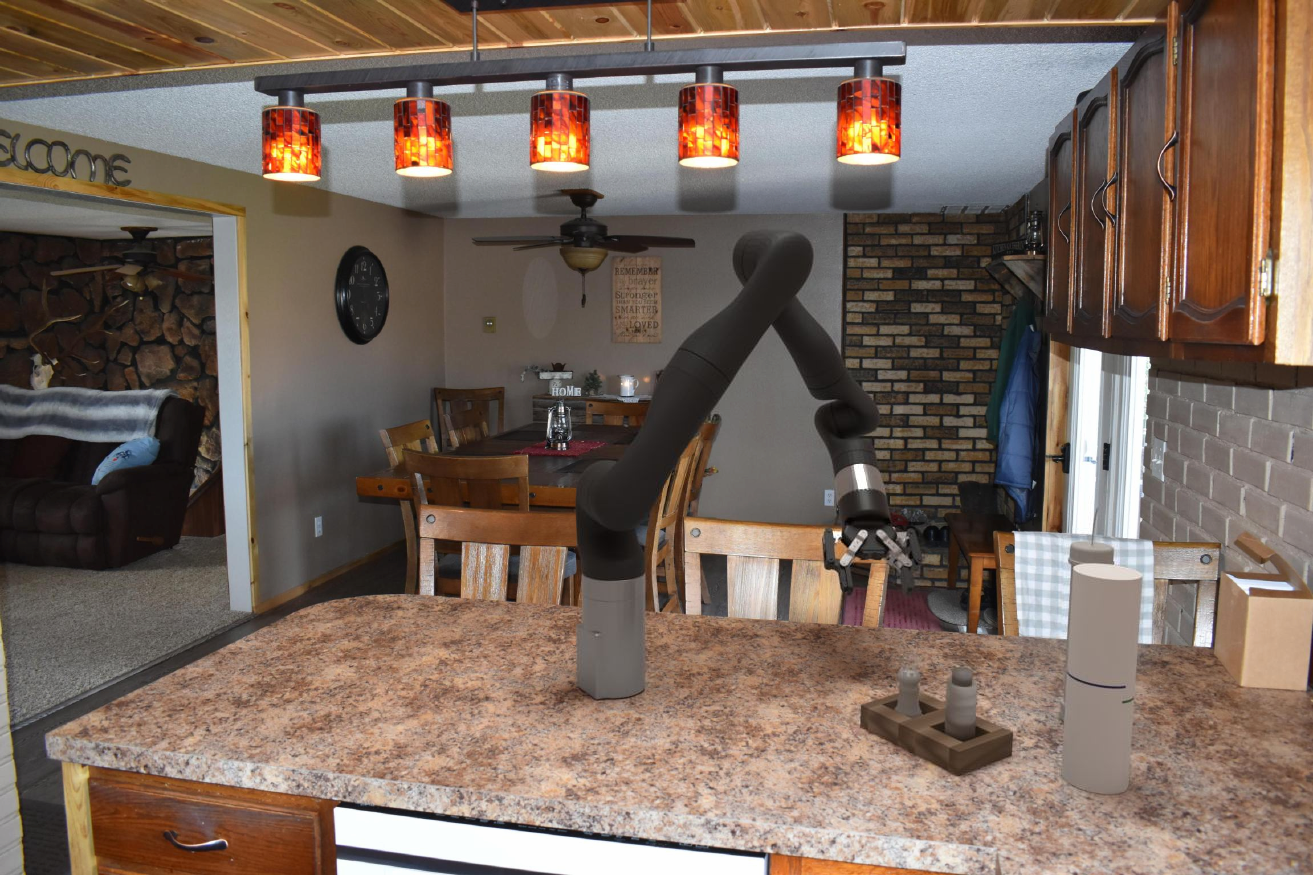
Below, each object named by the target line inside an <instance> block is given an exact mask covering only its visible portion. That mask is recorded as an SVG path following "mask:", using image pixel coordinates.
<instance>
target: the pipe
mask: <svg viewBox="0 0 1313 875" xmlns="http://www.w3.org/2000/svg"><path fill="white" fill-rule="evenodd" d="M1096 507H1097V508H1096V509H1095V512H1094V518H1093V524H1092V531H1091V532H1092V533H1091V540H1089V541H1087V540H1079V541H1078V540H1077V541H1074V542H1071V544H1070V546H1069V556H1068V558H1067V563H1068V565H1069V564H1070V565H1071V566H1070V583H1069V600H1068V616H1067V633H1066V651H1065V665H1064V666H1065V667H1064V680H1063V681H1064V684H1063V696H1062V697H1060V700H1059V706H1060V715H1059V717H1060V719H1061V721H1062V722H1063V723H1064V715H1065V698H1066V681H1067V664H1068V646H1069V629H1070V612H1071V595H1072V578H1073V567H1074V566H1076V565H1079V564H1089V563H1096V564H1110V565H1115V561H1114V556H1115V555H1114V554H1115V547H1113V546H1112V545H1110V544H1108V543H1104V542H1099V541H1094V539H1095V538H1094V536H1095V528H1096V522H1097V521H1096V520H1097V516H1098V511H1099V508H1100V507H1099V506H1096Z"/></svg>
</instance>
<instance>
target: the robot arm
mask: <svg viewBox="0 0 1313 875" xmlns="http://www.w3.org/2000/svg"><path fill="white" fill-rule="evenodd" d="M731 261H732V267H733V271H734V273H735V275H736V277H737V279H738V281H739V282H740V284H741V285H742V286H743V288H742V289H741V291H740V292H739V293H738V294H737V295H736V297H735V298H734V299H733V300H732V301H731V302H730V303H729V304H728V305H727V306H726V307H725V308H723V309H722V310H721V311H720V312H718V313H717V314H716V315H714V316H713V317H711V318H709V319H708V320H707V321H706V322H704V323H703V324H701V325H700V326H699V327H698V328H697V329H695V330H694V331H693V332H692V333H690V334H689V335H688V336H687V338H685V340H683V342H682V343H681V344H680V346H679V347H678V348H677V350H676V351H675V352H674V354H673V356H672V357H671V359H669V361H668V362H667V364H666V366H665V367H664V369H663V370H662V372H661V373H660V376H659V377H658V379H657V382H656V383H655V386H654V389H653V392H652V396H651V397H650V398H651V399H650V403H649V406H648V409H647V412H646V415H645V419H644V421H643V424H642V426H641V428H640V430H639V431H638V434H636V436H635V438H634V439H633V441H632V442H631V443H630V445H629V446H628V447H627V449H626V450H625V452H624V453H623V454H621V457H619V458H618V460H617V461H615V460H610V459H609V460H608V459H607V460H606V459H605V460H597V461H595V462H594V463H592V464H590V465H589V466H587V467H586V468H585V470H584V471H583V472H582V473H581V475H580V477H579V479H578V481H577V485H576V489H575V527H576V544H577V545H576V546H577V551H578V554H579V558H580V563H581V564H580V565H581V622H579V623H577V624H576V628H575V629H576V686H577V687H578V688H579V689H581V690H582V691H584V692H585V693H587V694H588V695H589V696H591V697H592V698H594V699H595V700H601V699H622V698H629V697H632V696H635V695H638V694H639V693H641V692H642V691H643V690H644V689H646V556H645V553H644V551H643V548H642V546H641V544H640V542H639V539H638V535H637V527H638V526H639V525H641V524H642V523H643V522H644V520H646V519H647V517H648V516H649V515H650V513H651V511H652V510H653V508H654V506H655V505H656V503H657V500H659V497H660V496H661V494H662V491H663V489H664V488H665V485H666V484H667V482H668V480H669V478H670V477H671V475H672V473H673V471H674V469H675V468H676V466H677V465H678V464H677V463H678V462H679V460H680V458H681V457H682V455H683V454H684V452H685V451H686V449H687V448H688V447H689V445H690V443H691V442H692V441H693V439H694V438H695V436H696V435H697V434H698V432H699V430H700V429H701V428H702V425H704V423H705V421H707V418H708V417H709V416H710V414H711V413H712V412H713V410H714V409H715V407H716V406H717V405H718V403H719V402H720V400H721V399H722V397H723V396H724V394H725V393H726V391H727V390H728V388H730V386H731V384H732V382H733V381H734V380H735V378H736V376H737V374H738V372H739V371H740V369H741V368H742V366H743V365H744V364H745V362H746V360H748V358H749V356H750V355H751V353H752V352H753V351H754V350H755V348H756V347H757V345H758V344H759V342H761V339H762V338H763V336H764V335H765V334H766V332H767V330H769V328H770V327H771V326H772V328H773V329H774V331H775V332H776V333H777V335H778V337H779V339H780V340H781V341H782V343H783V344H784V346H785V348H786V350H787V351H788V353H789V355H790V357H791V358H792V360H793V362H794V363H795V366H796V368H797V371H798V373H799V375H800V376H801V378H802V380H803V382H804V385H805V387H806V388H807V390H808V392H809V394H810V395H811V397H813V398H814V399H815V400H818V401H830V402H826V403H824V404H822V405H820V406H819V407H818V408H817V409H816V411H815V413H814V417H813V423H814V427H815V429H816V431H817V434H818V435H819V437H820V438H821V440H822V442H823V443H824V445H825V447H826V449H827V451H828V454H829V456H830V460H831V462H832V469H833V475H834V483H835V502H836V504H837V508H838V516H839V521H840V527H841V531H834V529H832V528H831V527H826V528H825V529H824V532H823V535H822V538H821V542H822V543H821V545H822V546H821V547H822V556H823V558H822V559H823V567H824V569H825V570H827V571H831V570H833V571H835V572H836V573H837V574H838V581H839V588H840V591H841V592H842V593H845V596H847V597H849V596H852V594H853V592H854V583H853V578H852V574H851V573H852V572H851V567H850V566H851V565H852V564H853V562H854V560H855V559H856V558H858V559H859V560H860V561H867V560H874V561H882V560H884V561H885V562H886V563H887V564H888V565H889V566H892V567H894V568H895V569H896V570H897V571H898V572H899V576H898V577H899V580H900V584H901V585H900V586H901V590H902V593H903V594H902V595H903V596H904V597H910V596H911V593H913V591H914V589H915V588H916V584H915V578H914V573H913V572H918V571H919V570H920V567H921V566H922V564H923V562H924V557H923V554H922V550H921V547H920V544H919V541H918V537H917V534H916V531H915V529H914V528H911V527H910V528H908V529H907V531H902V532H901V531H899V532H898V531H896V530H895V528H893V524H892V517H891V514H890V509H889V502H888V497H887V493H886V488H885V484H884V482H883V478H882V476H881V472H880V467H879V463H878V458H877V453H876V450H875V447H874V446H873V444H872V443H871V442H870V441H869V440H866V439H862V438H860V437H863V436H866V435H868V434H872V433H873V432H875V431H876V430H877V429H878V428H879V426H880V421H881V414H880V410H879V407H878V405H877V404H876V402H875V401H874V399H873V398H872V396H871V395H869V393H868V392H867V391H866V390H865V389H863V387H862V386H860V384H859V383H858V382H857V381H856V380H855V378H854V377H853V376H852V374H851V373H850V372H849V370H848V367H847V366H846V364H845V362H844V359H843V357H842V355H841V353H840V351H839V349H838V346H837V345H836V343H835V341H834V340H833V339H832V337H831V336H830V334H829V333H828V332H827V331H826V329H825V328H824V327H823V326H822V325H821V324H820V323H819V322H818V321H817V320H816V319H815V318H814V316H812V314H811V313H810V312H809V311H808V309H806V308H805V307H804V305H803V303H801V301H800V300H799V298H798V297H797V294H798V293H800V291H801V289H802V288H803V286H804V285H805V284H806V282H807V280H808V278H809V276H810V274H811V272H812V269H813V265H814V248H813V246H812V242H811V241H810V240H809V239H808V238H807V237H806V236H805V235H804V234H802V233H799V232H797V231H793V230H788V229H787V230H786V229H768V228H767V229H765V228H763V229H761V228H760V229H754V230H750V231H747V232H746V233H744V234H742V235H741V236H740V238H739V239H738V240H737V241H736V243H735V244H734V247H733V250H732V259H731ZM839 541H840V542H841V543H842V544H843V546H845V547H846V549H847V550H846V551H845V553H844V554H843V555H842V557H841V559H839V558H837V557H836V554H835V553H836V552H835V551H836V550H835V549H836V548H835V546H837V543H838V542H839ZM896 541H897V542H899V543H900V545H901V547H902V548H905V552H906V555H905V554H904V552H903V551H902V549H901V548H900V546H898V545H897V544H896ZM890 552H891V553H890Z"/></svg>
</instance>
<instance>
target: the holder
mask: <svg viewBox="0 0 1313 875" xmlns="http://www.w3.org/2000/svg"><path fill="white" fill-rule="evenodd" d="M973 673H974V672H973V670H972V669H971V668H967V667H963V666H956V667H953V668H952V670H951V677H949V678H948V679H947V680H946V684H945V685H946V688H945V702H944V701H942V700H940V699H937V698H935V697H933V696H931V695H928V694H926V693H923V692H922V691H919V692H918V700H919V707H920V710H921V711H922V712H921V713H922V714H923V715H921V716H918V717H915V718H910V717H907V716H905V715H903V714H901V713H899V712H897V711H895V707H897V704H898V698H899V692H898V693H895V694H892V695H888V696H886V697H882V698H879V699H875V700H871V701H869V702H865V703H861V704H860V721H859V726H860V727H861V728H862V729H865V730H867V731H869V732H870V733H872V734H875V735H877V736H879V737H880V738H883V739H884V740H886V741H888V742H890V743H892V744H894V745H896V746H898V747H900V748H902V749H903V750H906V751H908V752H909V753H912V754H914V755H916V756H918V757H920V758H921V759H924V760H926V761H928V762H930V763H932V764H933V765H936V766H937V767H939V768H941V769H943V770H945V771H947V772H950V773H951V774H953V775H955V776H957V777H959V776H962V775H964V774H967V773H969V772H972V771H975V770H977V769H979V768H982V767H985V766H989V765H991V764H993V763H996V762H998V761H1000V760H1003V759H1006V758H1008V757H1010V756H1013V744H1014V743H1013V742H1014V732H1013V731H1012V730H1010V729H1008V728H1004V727H1003V726H1000V725H998V724H995V723H994V722H992V721H988V720H986V719H984V718H982V717H979V716H977V700H978V699H977V698H978V683H977V682H976V681H974V680H973Z"/></svg>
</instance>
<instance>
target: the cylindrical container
mask: <svg viewBox="0 0 1313 875" xmlns="http://www.w3.org/2000/svg"><path fill="white" fill-rule="evenodd" d="M1143 577H1144V575H1143V573H1141V571H1138V570H1136V569H1133V568H1130V567H1125V566H1121V565H1116V564H1114V565H1110V564H1096V563H1089V564H1079V565H1076V566H1074V567H1073V578H1072V595H1071V612H1070V629H1069V646H1068V664H1067V681H1066V698H1065V715H1064V722H1063V736H1062V738H1063V739H1062V749H1061V751H1062V753H1061V769H1060V774H1061V777H1062V779H1063V780H1064V781H1065V782H1067V784H1070V785H1071V786H1073V787H1075V788H1076V789H1080V790H1083V791H1085V790H1086V791H1085V792H1089V793H1092V794H1098V795H1117V794H1122V793H1124V792H1126V791H1127V790H1128V789H1129V783H1130V766H1131V756H1132V755H1131V754H1132V753H1131V752H1132V751H1131V750H1132V738H1133V736H1132V735H1133V725H1134V724H1133V722H1134V707H1135V696H1136V695H1135V692H1136V680H1137V678H1136V677H1137V664H1138V662H1137V661H1138V650H1139V634H1140V623H1141V622H1140V619H1141V608H1142V607H1141V606H1142V605H1141V604H1142V590H1143Z"/></svg>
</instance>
